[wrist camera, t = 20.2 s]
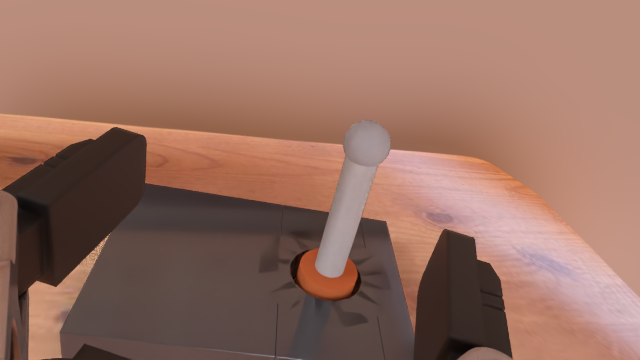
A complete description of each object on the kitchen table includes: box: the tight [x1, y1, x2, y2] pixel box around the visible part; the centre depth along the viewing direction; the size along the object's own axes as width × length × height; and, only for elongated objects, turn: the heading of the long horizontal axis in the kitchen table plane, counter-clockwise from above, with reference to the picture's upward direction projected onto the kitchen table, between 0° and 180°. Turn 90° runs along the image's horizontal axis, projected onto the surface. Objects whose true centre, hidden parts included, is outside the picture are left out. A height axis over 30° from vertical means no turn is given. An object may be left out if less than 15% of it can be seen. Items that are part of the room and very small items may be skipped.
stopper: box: [295, 120, 391, 301], centre depth 35 cm, size 4×4×15 cm
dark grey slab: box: [60, 183, 415, 360], centre depth 37 cm, size 22×16×2 cm
